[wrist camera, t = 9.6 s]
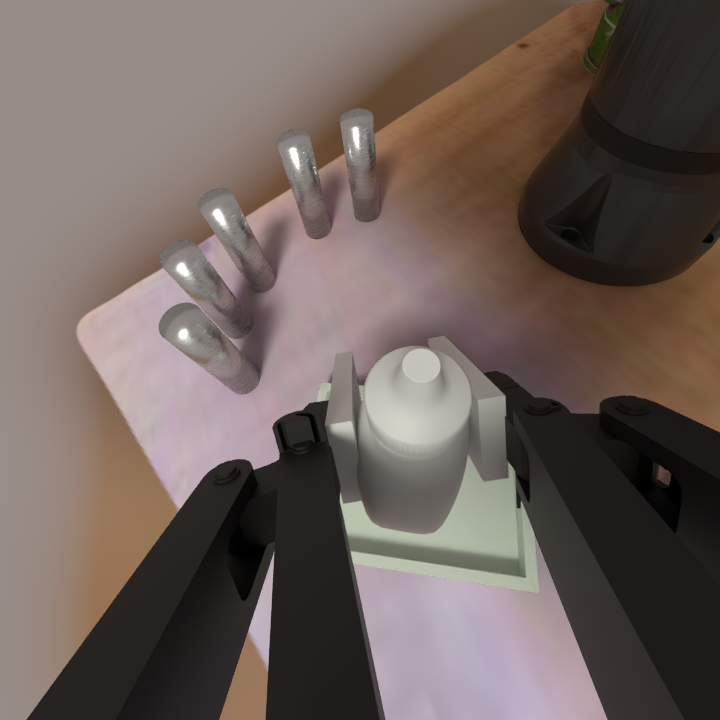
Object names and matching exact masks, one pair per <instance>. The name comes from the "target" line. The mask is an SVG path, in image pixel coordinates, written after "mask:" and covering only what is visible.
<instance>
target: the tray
mask: <svg viewBox="0 0 720 720" xmlns="http://www.w3.org/2000/svg"><path fill="white" fill-rule="evenodd" d="M364 387H365V386H362V385H359V390H360V396H361V401H362V400H363V393H364V391H363V388H364ZM330 389H331V383H322V382H320V388H319V393H318V399H317V402H320V401H326V400H329V396H330ZM508 471H509V478H506V479H499V480H493V481H486V482H483V480H482V479H481V477H480V475H479V473H478V471H477V469H476V468H475V466H474V464H473V462H472V460H471V459H470V457H469V455H468V457H467V463H466V468H465V472H464V476H463V480H462V484H461V487H460V490H459V493H458V495H457V498H456V500H455V503H454V505H453V507H452V509H451V511H450V513H449V515H448V517H447V519H446V520H445V522H444V524H443V525H442V526H441V527H440V528H439V529H438V530H437V531H436V532H435V533H429V534H423V535H422V534H414V533H408V532H402V531H396V530H390V529H386V528H381V527H379V526H378V525H376V524H374V523H372V522H371V520H370V519H369V517H368V516H367V514H366V512H365V509H364V506H363V503H362V501H358V502H352V503H346V504H343V501H342V497H341V493H340V504H341V508H342V513H343V517H344V522H345V527H346V532H347V537H348V541H349V546H350V551H351V556H352V561H353V564H359V565H365V566H372V567H378V568H384V569H390V570H397V571H403V572H409V573H416V574H422V575H428V576H435V577H441V578H447V579H454V580H460V581H466V582H473V583H479V584H485V585H492V586H498V587H504V588H510V589H517V590H523V591H529V592H536V593H539V584H538V572H537V560H536V547H535V535H534V531H533V529H532V526H531V524H530V521H529V518H528V516H527V513H526V511H525V508H524V506H523V503H522V502H521V508H517V505H516V479H515V470H514V469H513V467H512V466H511V465H510V463H509V462H508Z"/></svg>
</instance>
